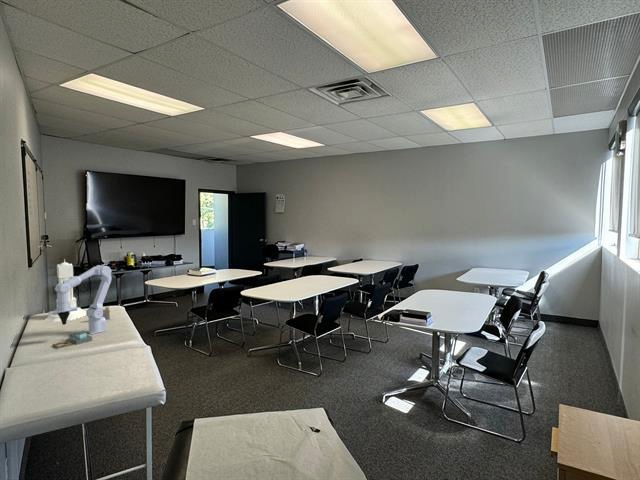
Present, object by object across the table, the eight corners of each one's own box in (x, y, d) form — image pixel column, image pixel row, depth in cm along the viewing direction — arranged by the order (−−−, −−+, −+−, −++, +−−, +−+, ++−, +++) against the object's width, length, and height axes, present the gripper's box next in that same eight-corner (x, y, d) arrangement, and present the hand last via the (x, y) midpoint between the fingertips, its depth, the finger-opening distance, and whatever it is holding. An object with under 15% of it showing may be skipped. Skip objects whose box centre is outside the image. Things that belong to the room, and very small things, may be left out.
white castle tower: (93, 316, 274) (90, 258, 271) (47, 324, 254) (43, 261, 251) (84, 309, 294) (82, 255, 291) (41, 316, 274) (38, 257, 271)
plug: (82, 339, 224) (82, 330, 223) (86, 340, 222) (86, 331, 222) (75, 341, 220) (75, 332, 219) (80, 342, 218) (79, 333, 218)
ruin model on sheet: (109, 319, 269) (109, 306, 268) (109, 320, 266) (109, 307, 266) (91, 321, 263) (91, 308, 262) (91, 322, 260) (91, 309, 259)
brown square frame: (67, 342, 218) (67, 340, 218) (71, 345, 214) (71, 343, 214) (52, 345, 212) (52, 344, 212) (57, 348, 208) (56, 347, 208)
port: (83, 336, 229) (83, 330, 229) (92, 340, 221) (91, 334, 221) (68, 339, 222) (68, 333, 222) (76, 344, 215) (76, 338, 214)
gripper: (74, 299, 229) (75, 320, 230) (46, 303, 218) (47, 325, 219) (78, 301, 225) (79, 322, 226) (50, 305, 213) (51, 328, 214)
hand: (64, 324), depth 222 cm, fingers closed
